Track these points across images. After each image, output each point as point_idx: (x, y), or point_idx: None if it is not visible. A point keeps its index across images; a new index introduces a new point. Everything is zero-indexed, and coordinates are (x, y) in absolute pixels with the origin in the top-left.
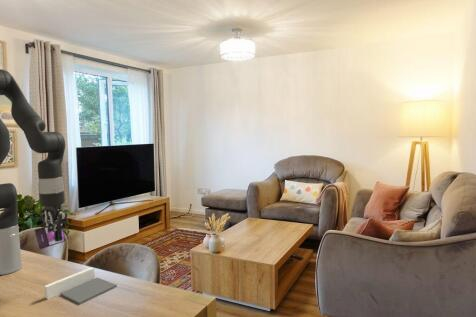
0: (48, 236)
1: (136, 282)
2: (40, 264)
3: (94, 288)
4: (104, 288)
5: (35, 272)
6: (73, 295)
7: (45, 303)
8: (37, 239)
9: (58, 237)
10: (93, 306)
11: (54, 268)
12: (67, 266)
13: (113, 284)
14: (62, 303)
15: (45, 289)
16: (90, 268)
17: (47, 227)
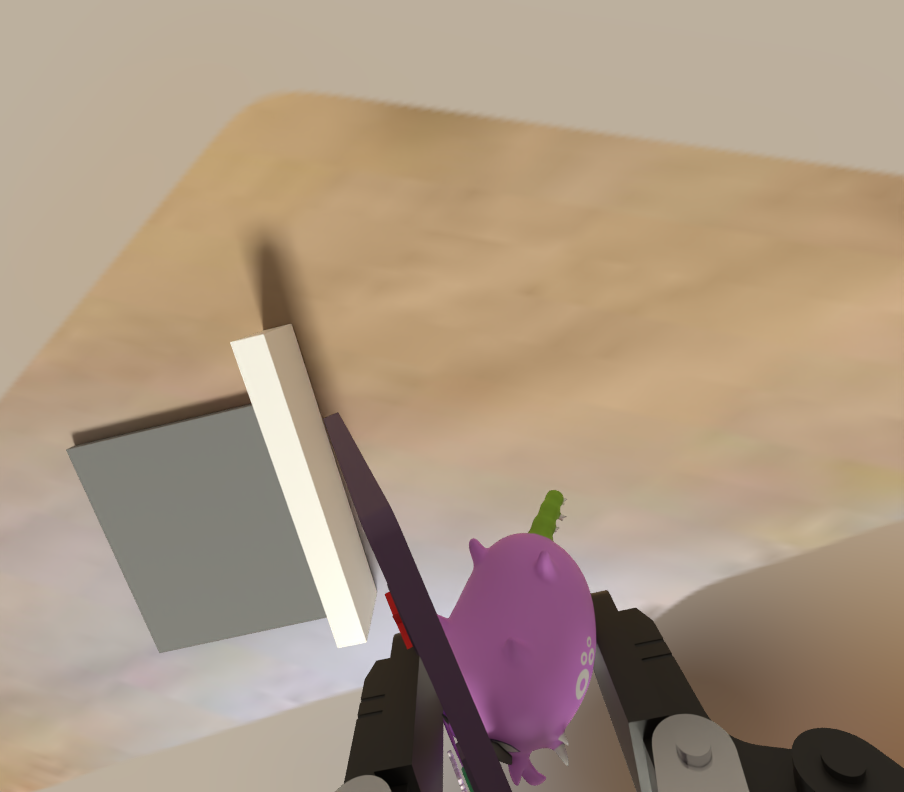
0: (469, 617)
1: (150, 727)
2: (897, 419)
3: (196, 558)
4: (158, 595)
5: (771, 361)
6: (180, 450)
7: (216, 307)
8: (337, 451)
9: (362, 701)
10: (8, 491)
11: (730, 471)
12: (691, 539)
13: (178, 644)
14: (151, 380)
15: (261, 333)
16: (350, 631)
17: (665, 748)
